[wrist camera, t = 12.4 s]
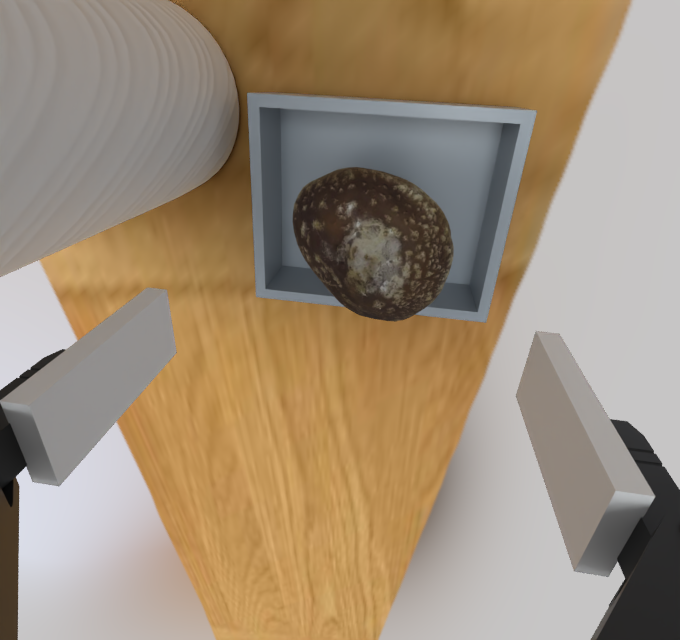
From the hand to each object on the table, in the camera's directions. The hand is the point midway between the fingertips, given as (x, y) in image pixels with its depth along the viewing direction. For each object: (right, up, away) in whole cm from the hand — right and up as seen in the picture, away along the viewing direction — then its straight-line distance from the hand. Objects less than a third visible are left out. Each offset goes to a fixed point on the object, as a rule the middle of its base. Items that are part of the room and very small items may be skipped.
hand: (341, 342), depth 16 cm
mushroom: (+4, +11, +21) cm, 24 cm away
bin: (+3, +11, +21) cm, 24 cm away
